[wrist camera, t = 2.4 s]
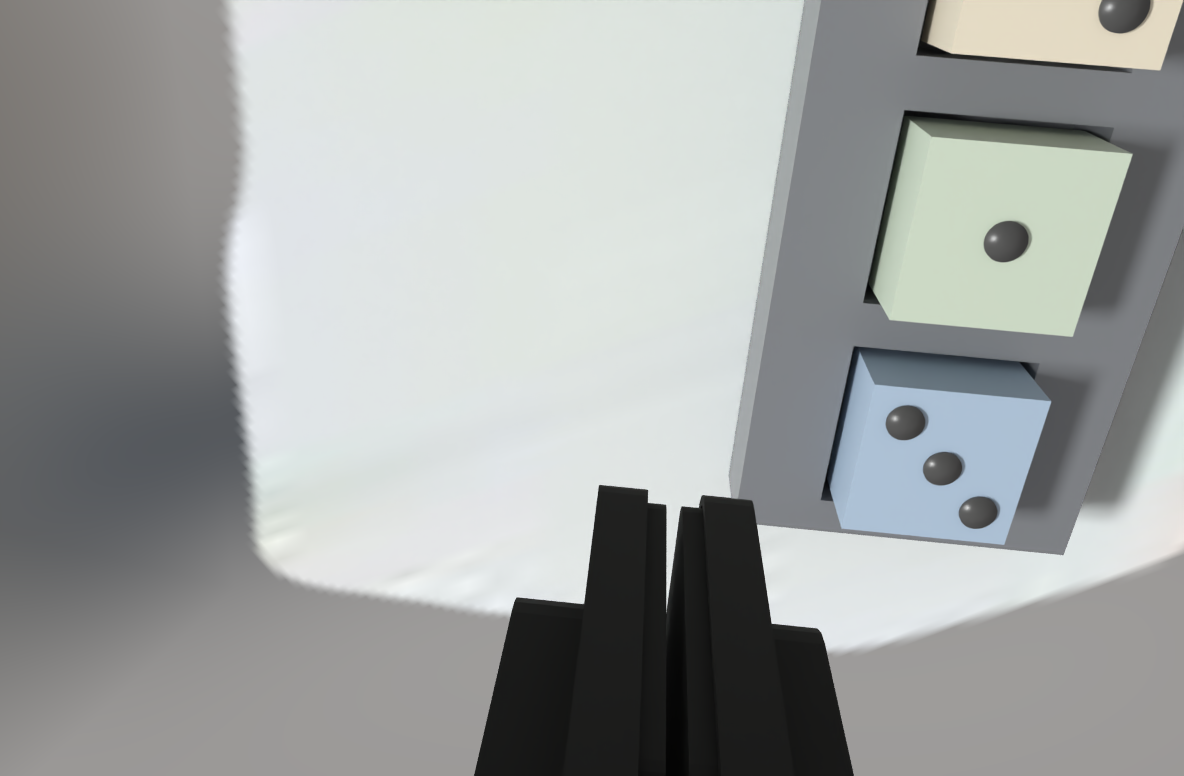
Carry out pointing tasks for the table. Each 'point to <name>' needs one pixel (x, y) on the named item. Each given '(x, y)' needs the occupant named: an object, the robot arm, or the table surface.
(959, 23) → the key two
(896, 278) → the key one
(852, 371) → the key three
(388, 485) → the table surface
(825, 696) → the robot arm
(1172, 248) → the keypad board
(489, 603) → the table surface
